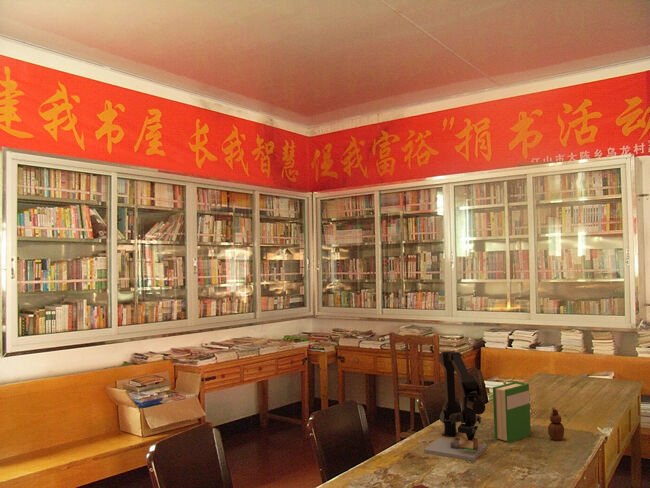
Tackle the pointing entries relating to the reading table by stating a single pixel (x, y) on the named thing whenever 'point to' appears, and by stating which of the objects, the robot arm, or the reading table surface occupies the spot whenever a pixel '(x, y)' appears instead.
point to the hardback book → (511, 411)
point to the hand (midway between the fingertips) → (470, 443)
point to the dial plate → (454, 450)
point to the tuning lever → (464, 443)
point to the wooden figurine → (555, 426)
